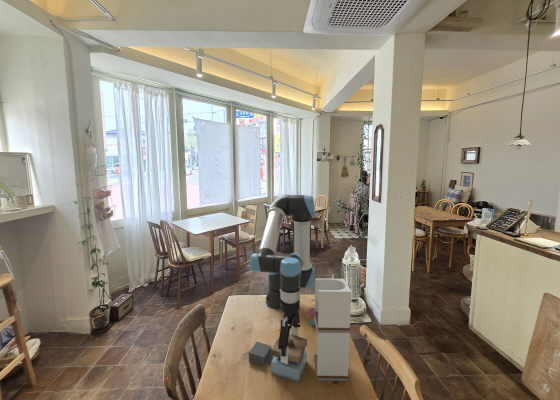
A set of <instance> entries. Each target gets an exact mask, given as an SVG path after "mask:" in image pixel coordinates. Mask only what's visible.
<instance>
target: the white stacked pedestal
mask: <svg viewBox="0 0 560 400" xmlns="http://www.w3.org/2000/svg"><path fill="white" fill-rule="evenodd" d="M314 282H315V284H314V288H315V289H314V308H315V323H316V325H315V329H316V334H317V345H316V346H317V350H316V353H317V354H313V364H314V369H315V375H316V381H318V382H319V381H323V382H324V381H325V382H349V366H350V365H349V362H350V335H351V311H352V310H351V309H352V308H351V307H352V290H351V289H350V287H349V285H348V283H347V281H346V279H345V278H330V277H329V278H324V277H323V278H321V277H320V278H318V277H317V278H315V279H314Z"/></svg>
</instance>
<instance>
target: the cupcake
mask: <svg viewBox="0 0 560 400" xmlns="http://www.w3.org/2000/svg"><path fill="white" fill-rule="evenodd" d="M305 313H306V314H305V315H306V319H308V321H309V324H311V325H312V326H316V323H315V307H312V308H309V309H308V310H307V311H306V312H305Z"/></svg>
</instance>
